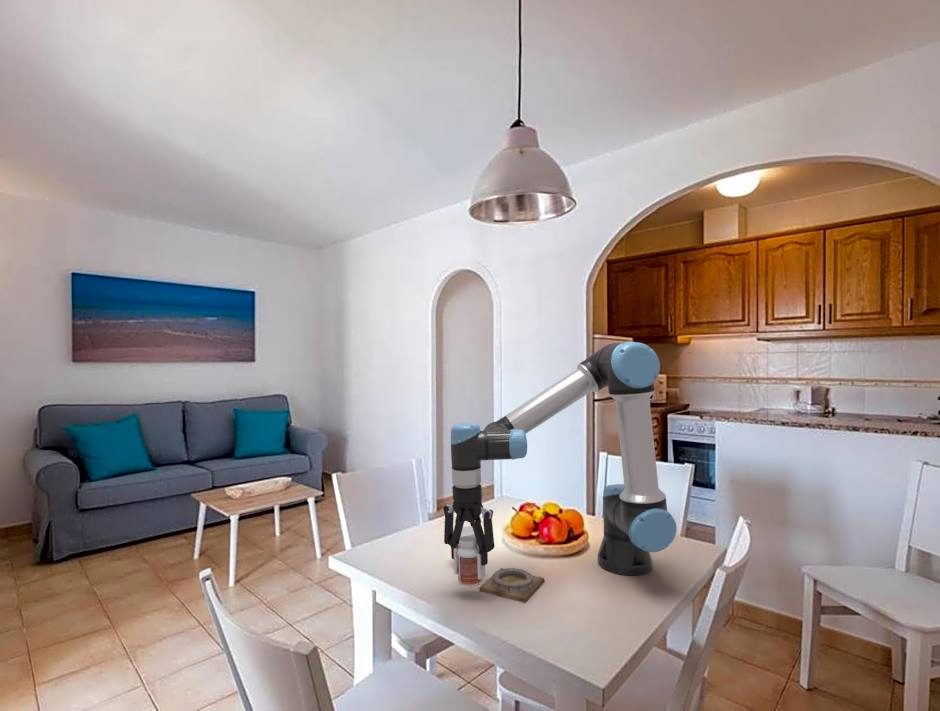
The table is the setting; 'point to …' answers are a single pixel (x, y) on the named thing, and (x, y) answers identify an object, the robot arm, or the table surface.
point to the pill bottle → (468, 562)
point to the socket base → (513, 594)
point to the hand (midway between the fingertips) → (469, 574)
